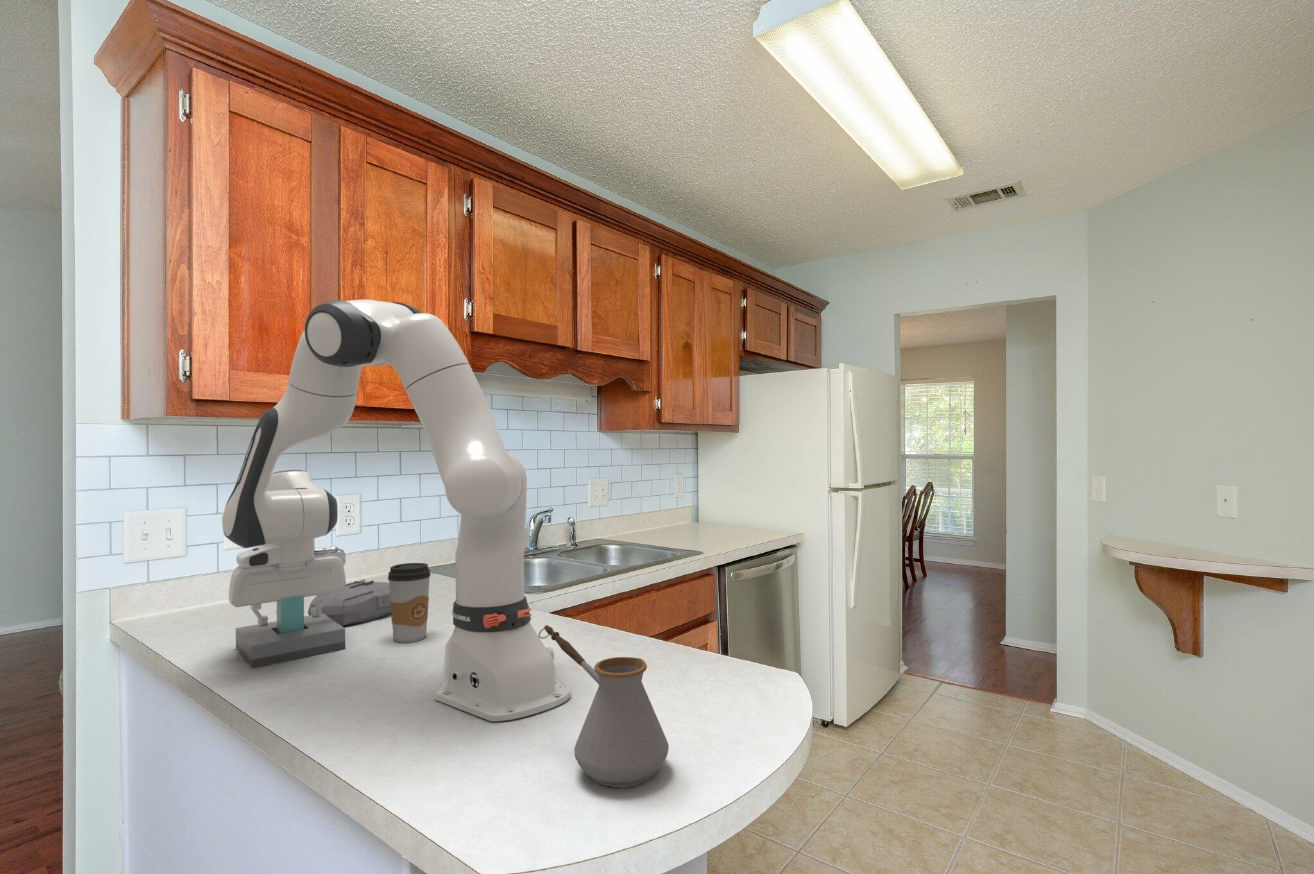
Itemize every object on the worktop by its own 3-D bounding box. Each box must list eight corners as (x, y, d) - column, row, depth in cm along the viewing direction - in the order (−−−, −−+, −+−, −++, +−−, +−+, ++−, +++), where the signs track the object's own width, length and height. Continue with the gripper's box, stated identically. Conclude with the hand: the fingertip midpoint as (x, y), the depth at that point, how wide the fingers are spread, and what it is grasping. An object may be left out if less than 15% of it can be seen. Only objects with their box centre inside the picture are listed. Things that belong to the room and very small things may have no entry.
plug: (304, 640, 128) (303, 595, 128) (281, 645, 125) (281, 598, 126) (299, 636, 131) (299, 592, 131) (276, 640, 128) (276, 595, 129)
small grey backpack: (368, 605, 163) (292, 625, 146) (368, 572, 163) (292, 588, 146) (411, 612, 156) (336, 634, 138) (410, 577, 156) (335, 595, 139)
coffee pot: (688, 769, 79) (686, 646, 79) (619, 809, 70) (617, 670, 70) (577, 719, 93) (576, 615, 93) (509, 747, 85) (507, 633, 85)
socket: (345, 648, 128) (345, 628, 128) (251, 668, 117) (250, 646, 117) (323, 631, 140) (322, 613, 140) (235, 648, 129) (235, 628, 129)
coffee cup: (402, 647, 128) (402, 571, 128) (380, 639, 133) (379, 567, 133) (439, 636, 135) (438, 565, 135) (416, 630, 140) (416, 561, 140)
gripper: (340, 544, 138) (341, 609, 138) (226, 556, 124) (227, 628, 124) (350, 547, 133) (350, 614, 133) (232, 560, 119) (232, 635, 119)
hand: (290, 621), depth 128 cm, fingers open, 8 cm apart
